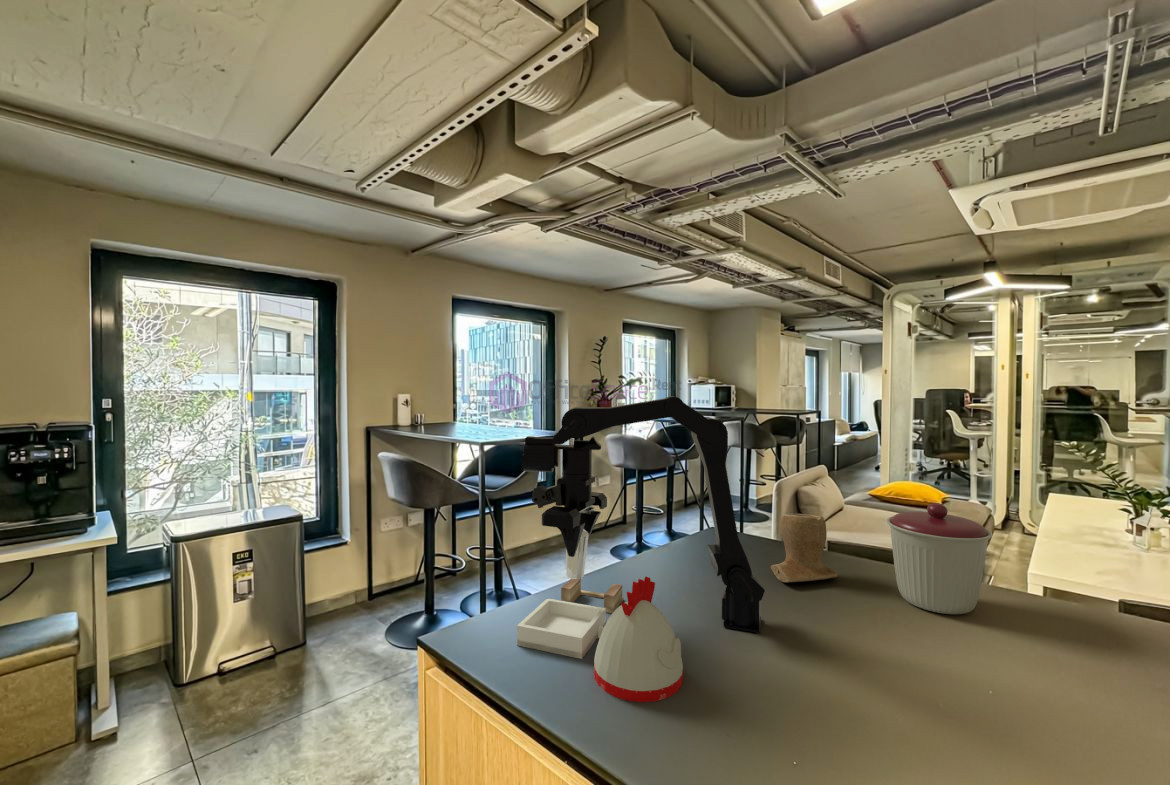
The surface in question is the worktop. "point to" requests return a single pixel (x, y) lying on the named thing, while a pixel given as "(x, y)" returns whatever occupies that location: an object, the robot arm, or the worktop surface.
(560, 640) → the tray
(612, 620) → the kitchen timer
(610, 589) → the wooden joined piece
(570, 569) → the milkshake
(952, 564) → the canister
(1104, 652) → the worktop surface
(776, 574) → the tan flared pedestal
